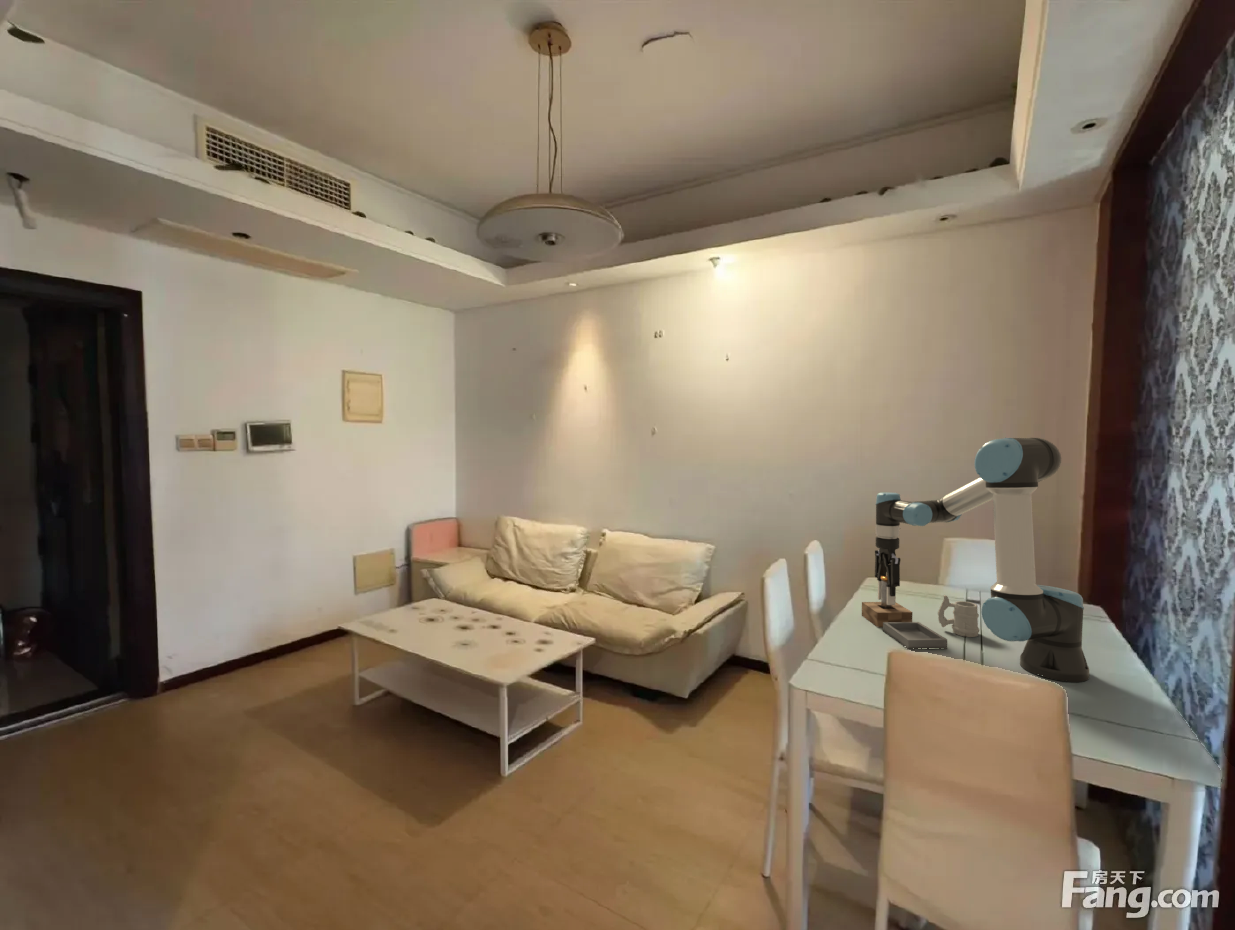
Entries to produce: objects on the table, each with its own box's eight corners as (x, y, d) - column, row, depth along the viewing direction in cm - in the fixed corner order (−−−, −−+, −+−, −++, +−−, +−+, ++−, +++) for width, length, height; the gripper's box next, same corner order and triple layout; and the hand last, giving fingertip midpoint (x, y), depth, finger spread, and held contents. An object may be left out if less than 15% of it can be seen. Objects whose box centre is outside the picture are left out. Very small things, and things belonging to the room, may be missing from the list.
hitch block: (912, 626, 190) (912, 612, 190) (877, 627, 190) (877, 612, 190) (894, 615, 202) (894, 601, 202) (861, 615, 202) (861, 602, 202)
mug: (980, 639, 178) (981, 602, 177) (937, 633, 184) (938, 597, 183) (977, 631, 185) (978, 596, 184) (936, 626, 190) (937, 591, 190)
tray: (947, 649, 170) (947, 639, 170) (908, 649, 170) (908, 640, 170) (918, 630, 186) (918, 621, 186) (882, 631, 186) (883, 622, 186)
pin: (894, 622, 194) (895, 578, 193) (883, 622, 194) (883, 578, 193) (889, 619, 198) (889, 575, 197) (877, 619, 198) (878, 575, 197)
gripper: (912, 541, 185) (911, 610, 186) (885, 531, 204) (884, 594, 205) (890, 542, 185) (888, 610, 186) (864, 532, 204) (863, 594, 205)
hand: (886, 601), depth 196 cm, fingers open, 6 cm apart
